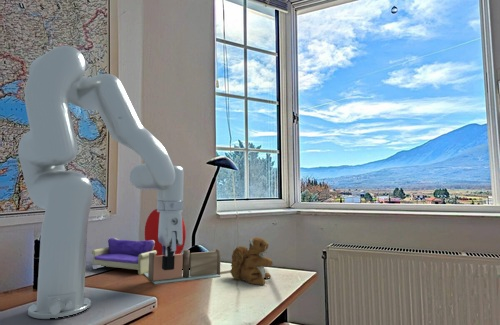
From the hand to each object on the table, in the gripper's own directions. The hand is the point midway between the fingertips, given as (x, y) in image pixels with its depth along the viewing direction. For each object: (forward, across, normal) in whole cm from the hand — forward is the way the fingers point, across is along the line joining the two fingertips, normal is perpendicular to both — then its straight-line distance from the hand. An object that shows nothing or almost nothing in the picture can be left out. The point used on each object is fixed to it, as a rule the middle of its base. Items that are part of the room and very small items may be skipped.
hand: (168, 269), depth 104 cm
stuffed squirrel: (+4, -6, -24) cm, 25 cm away
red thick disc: (+4, +36, -9) cm, 37 cm away
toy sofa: (+5, +24, +8) cm, 26 cm away
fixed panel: (+4, +4, -12) cm, 14 cm away
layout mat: (+4, +8, -7) cm, 11 cm away
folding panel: (+4, +4, 0) cm, 5 cm away
